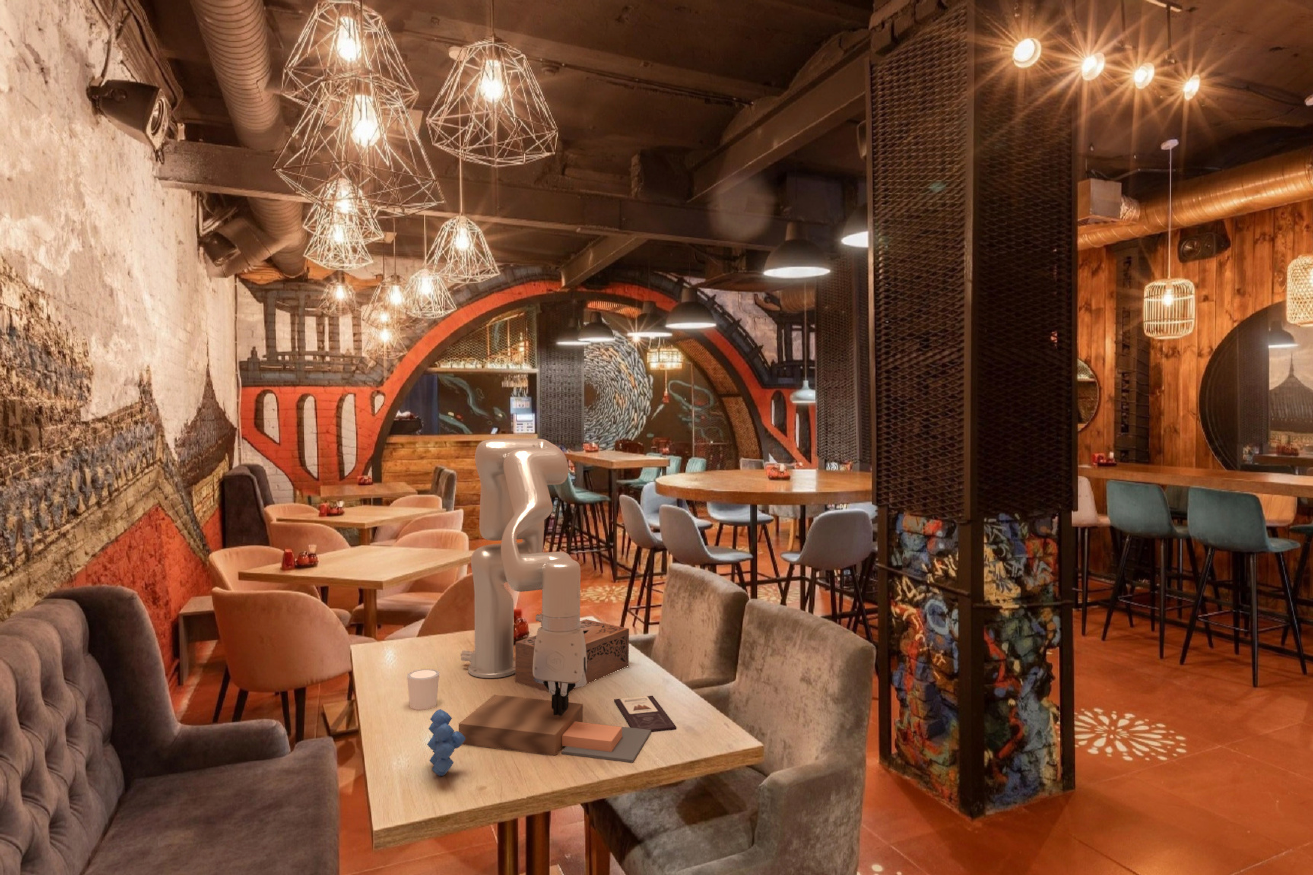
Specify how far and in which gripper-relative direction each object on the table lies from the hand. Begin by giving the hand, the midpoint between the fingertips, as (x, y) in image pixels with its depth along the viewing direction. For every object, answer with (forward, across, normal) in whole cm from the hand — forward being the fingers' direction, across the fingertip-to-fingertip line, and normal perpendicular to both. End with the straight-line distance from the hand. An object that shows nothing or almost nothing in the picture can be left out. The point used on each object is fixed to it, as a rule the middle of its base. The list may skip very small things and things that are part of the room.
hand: (559, 712), depth 154 cm
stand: (+5, -8, 0) cm, 9 cm away
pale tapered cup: (+5, -35, +8) cm, 36 cm away
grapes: (+5, -14, -20) cm, 25 cm away
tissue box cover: (+6, -10, +36) cm, 38 cm away
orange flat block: (+4, +7, -2) cm, 9 cm away
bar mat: (+5, +10, 0) cm, 11 cm away
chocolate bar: (+6, +14, +15) cm, 21 cm away
